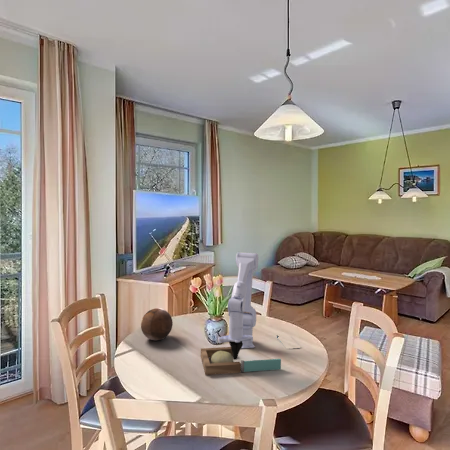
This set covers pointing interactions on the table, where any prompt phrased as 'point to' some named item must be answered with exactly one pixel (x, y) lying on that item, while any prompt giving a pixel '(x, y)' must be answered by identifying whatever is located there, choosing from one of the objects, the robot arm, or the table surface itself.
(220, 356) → the sea urchin shell
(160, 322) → the wooden sphere
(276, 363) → the teal plank
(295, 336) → the table surface
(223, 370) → the bay
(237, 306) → the robot arm
